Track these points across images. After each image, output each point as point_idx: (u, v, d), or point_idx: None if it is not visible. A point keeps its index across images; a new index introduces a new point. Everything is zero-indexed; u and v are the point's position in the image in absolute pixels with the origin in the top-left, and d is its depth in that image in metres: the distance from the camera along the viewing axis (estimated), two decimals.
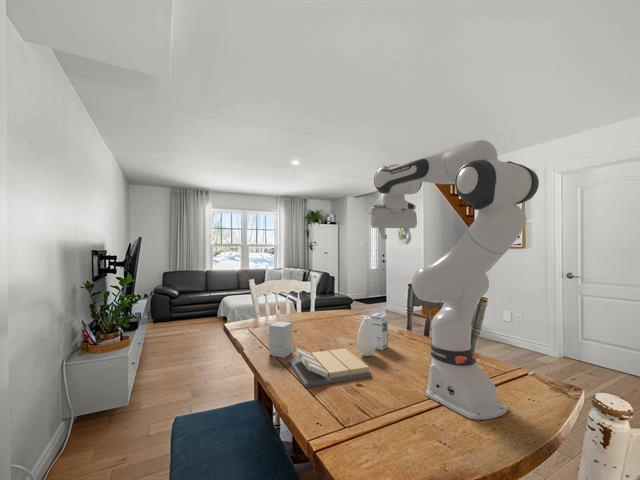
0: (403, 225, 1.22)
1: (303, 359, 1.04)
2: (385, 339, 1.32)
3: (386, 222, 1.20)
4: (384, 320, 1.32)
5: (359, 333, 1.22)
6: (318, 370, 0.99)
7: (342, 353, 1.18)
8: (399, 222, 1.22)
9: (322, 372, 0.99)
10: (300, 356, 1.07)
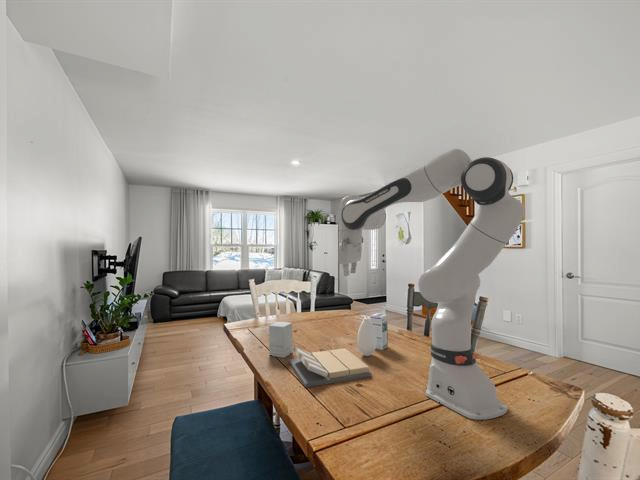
0: (356, 260, 1.18)
1: (303, 359, 1.04)
2: (385, 339, 1.32)
3: (351, 258, 1.10)
4: (384, 320, 1.32)
5: (359, 333, 1.22)
6: (318, 370, 0.99)
7: (342, 353, 1.18)
8: (355, 256, 1.16)
9: (322, 372, 0.99)
10: (300, 356, 1.07)
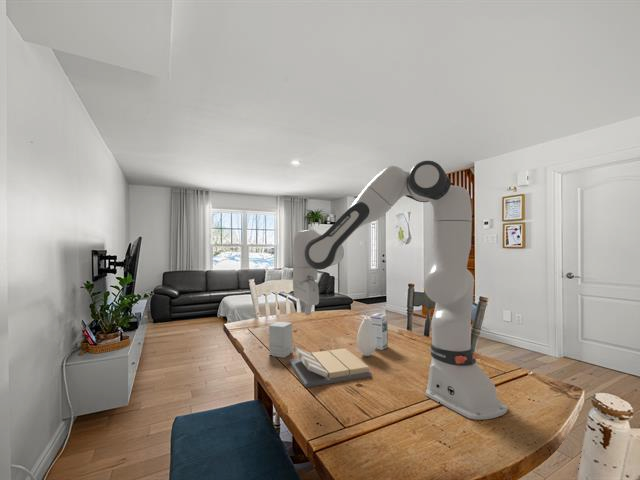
0: None
1: (303, 359, 1.04)
2: (385, 339, 1.32)
3: None
4: (384, 320, 1.32)
5: (359, 333, 1.22)
6: (318, 370, 0.99)
7: (342, 353, 1.18)
8: None
9: (322, 372, 0.99)
10: (300, 356, 1.07)
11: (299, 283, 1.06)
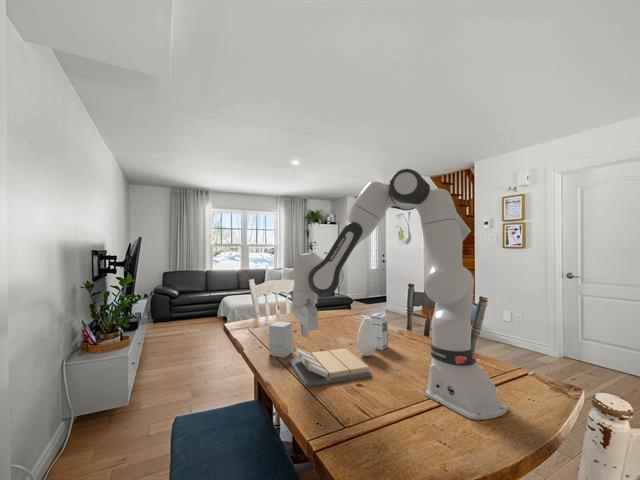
0: None
1: (303, 359, 1.04)
2: (385, 339, 1.32)
3: None
4: (384, 320, 1.32)
5: (359, 333, 1.22)
6: (318, 370, 0.99)
7: (342, 353, 1.18)
8: None
9: (322, 372, 0.99)
10: (300, 356, 1.07)
11: (299, 306, 1.06)
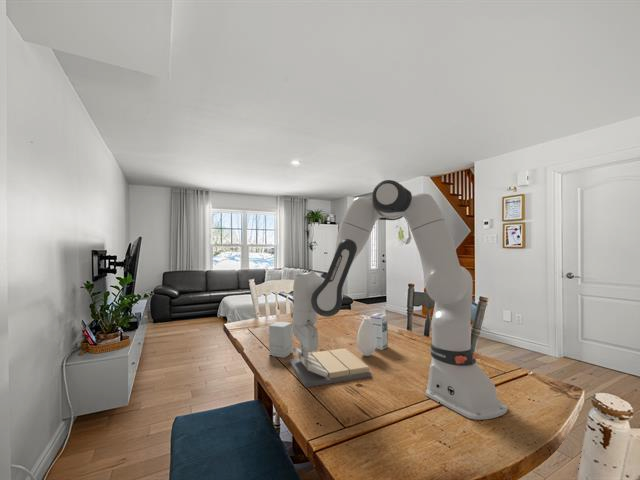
0: None
1: (303, 359, 1.04)
2: (385, 339, 1.32)
3: None
4: (384, 320, 1.32)
5: (359, 333, 1.22)
6: (318, 370, 0.99)
7: (342, 353, 1.18)
8: None
9: (322, 372, 0.99)
10: (300, 356, 1.07)
11: (299, 326, 1.06)
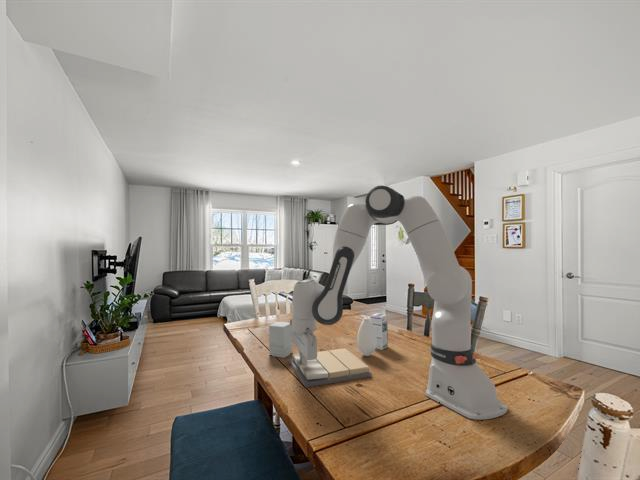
0: None
1: (301, 368, 1.04)
2: (385, 339, 1.32)
3: None
4: (384, 320, 1.32)
5: (359, 333, 1.22)
6: (317, 375, 0.99)
7: (342, 353, 1.18)
8: None
9: (322, 375, 0.99)
10: (299, 365, 1.07)
11: (298, 334, 1.05)
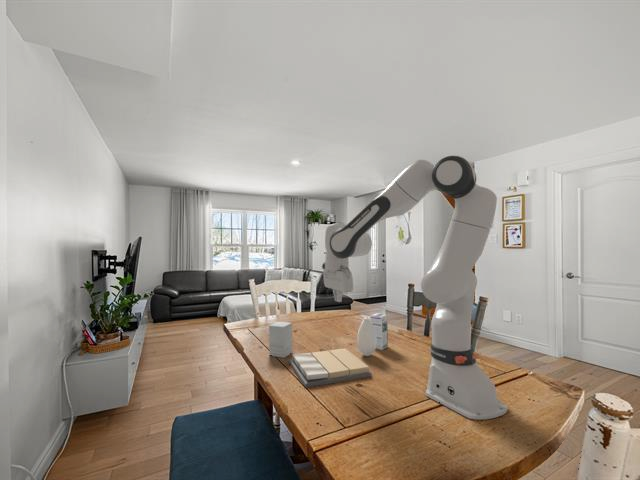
0: None
1: (301, 368, 1.04)
2: (385, 339, 1.32)
3: None
4: (384, 320, 1.32)
5: (359, 333, 1.22)
6: (317, 375, 0.99)
7: (342, 353, 1.18)
8: None
9: (322, 375, 0.99)
10: (299, 365, 1.07)
11: (332, 273, 1.13)
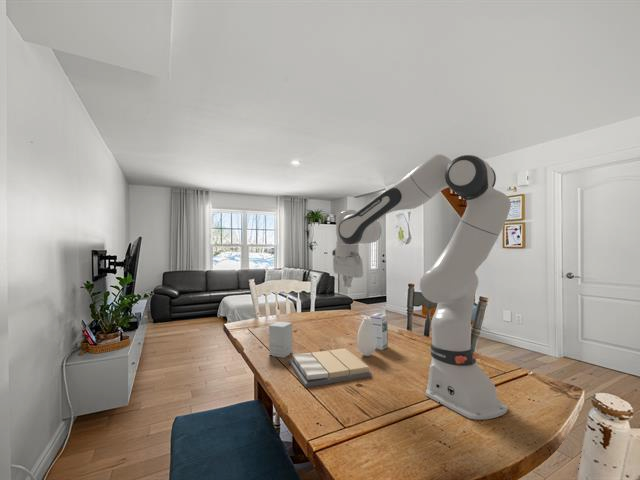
0: None
1: (301, 368, 1.04)
2: (385, 339, 1.32)
3: None
4: (384, 320, 1.32)
5: (359, 333, 1.22)
6: (317, 375, 0.99)
7: (342, 353, 1.18)
8: None
9: (322, 375, 0.99)
10: (299, 365, 1.07)
11: (342, 259, 1.16)
